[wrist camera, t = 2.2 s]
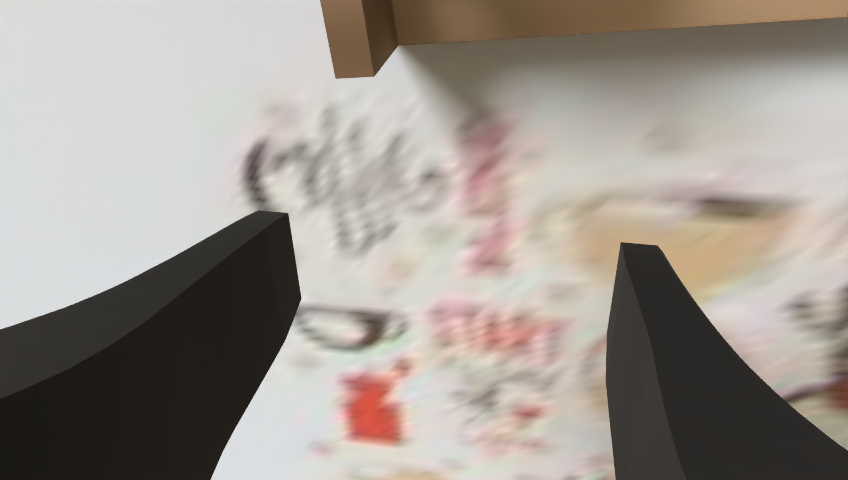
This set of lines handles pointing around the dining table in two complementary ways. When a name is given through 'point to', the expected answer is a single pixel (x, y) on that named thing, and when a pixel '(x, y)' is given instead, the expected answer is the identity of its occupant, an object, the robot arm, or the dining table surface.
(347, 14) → the tray
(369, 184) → the dining table surface
